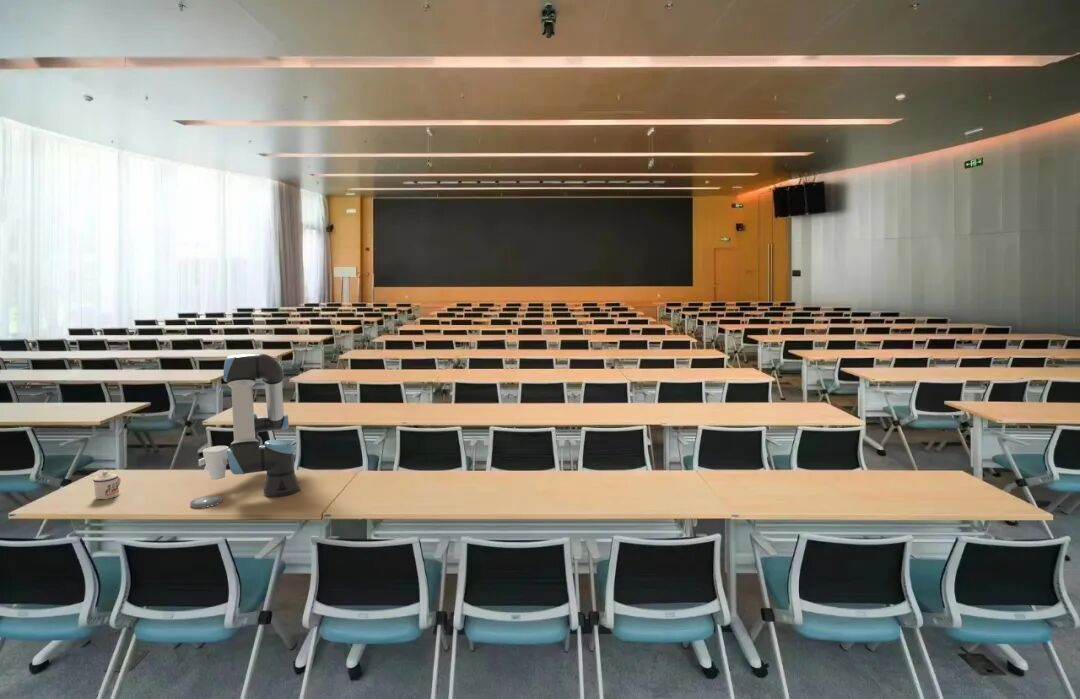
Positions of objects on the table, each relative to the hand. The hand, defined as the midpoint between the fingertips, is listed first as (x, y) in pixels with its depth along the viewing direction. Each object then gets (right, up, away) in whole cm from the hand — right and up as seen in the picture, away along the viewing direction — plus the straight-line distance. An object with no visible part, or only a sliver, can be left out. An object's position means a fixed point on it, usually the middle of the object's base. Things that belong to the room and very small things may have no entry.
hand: (210, 462), depth 278 cm
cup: (+1, -8, +5) cm, 9 cm away
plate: (+3, -15, -10) cm, 19 cm away
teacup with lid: (-46, -15, +2) cm, 49 cm away
